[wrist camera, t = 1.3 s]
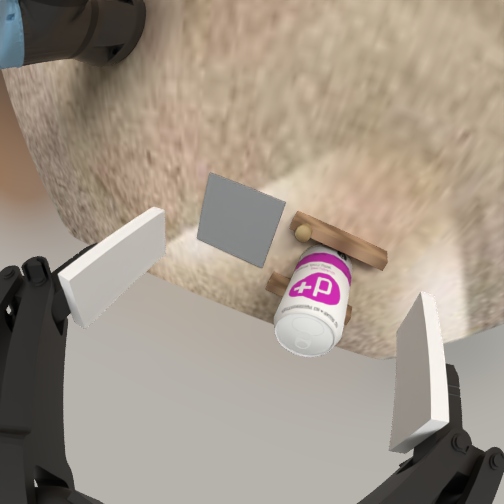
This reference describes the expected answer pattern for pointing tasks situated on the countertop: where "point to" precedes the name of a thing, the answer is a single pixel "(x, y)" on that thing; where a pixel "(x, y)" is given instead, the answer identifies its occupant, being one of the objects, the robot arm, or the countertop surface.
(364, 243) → the cradle
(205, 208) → the mat
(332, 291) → the supplement can
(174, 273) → the countertop surface
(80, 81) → the countertop surface
